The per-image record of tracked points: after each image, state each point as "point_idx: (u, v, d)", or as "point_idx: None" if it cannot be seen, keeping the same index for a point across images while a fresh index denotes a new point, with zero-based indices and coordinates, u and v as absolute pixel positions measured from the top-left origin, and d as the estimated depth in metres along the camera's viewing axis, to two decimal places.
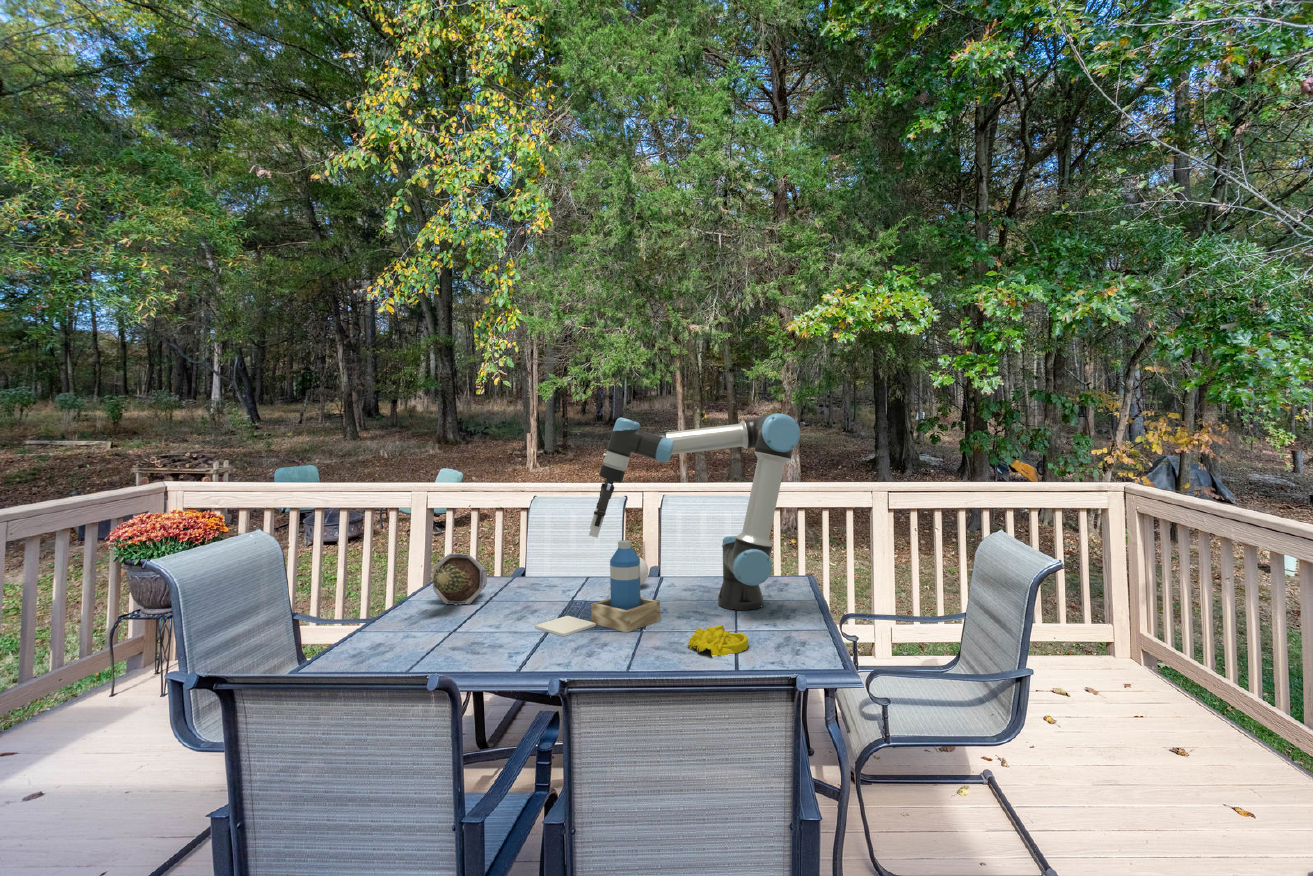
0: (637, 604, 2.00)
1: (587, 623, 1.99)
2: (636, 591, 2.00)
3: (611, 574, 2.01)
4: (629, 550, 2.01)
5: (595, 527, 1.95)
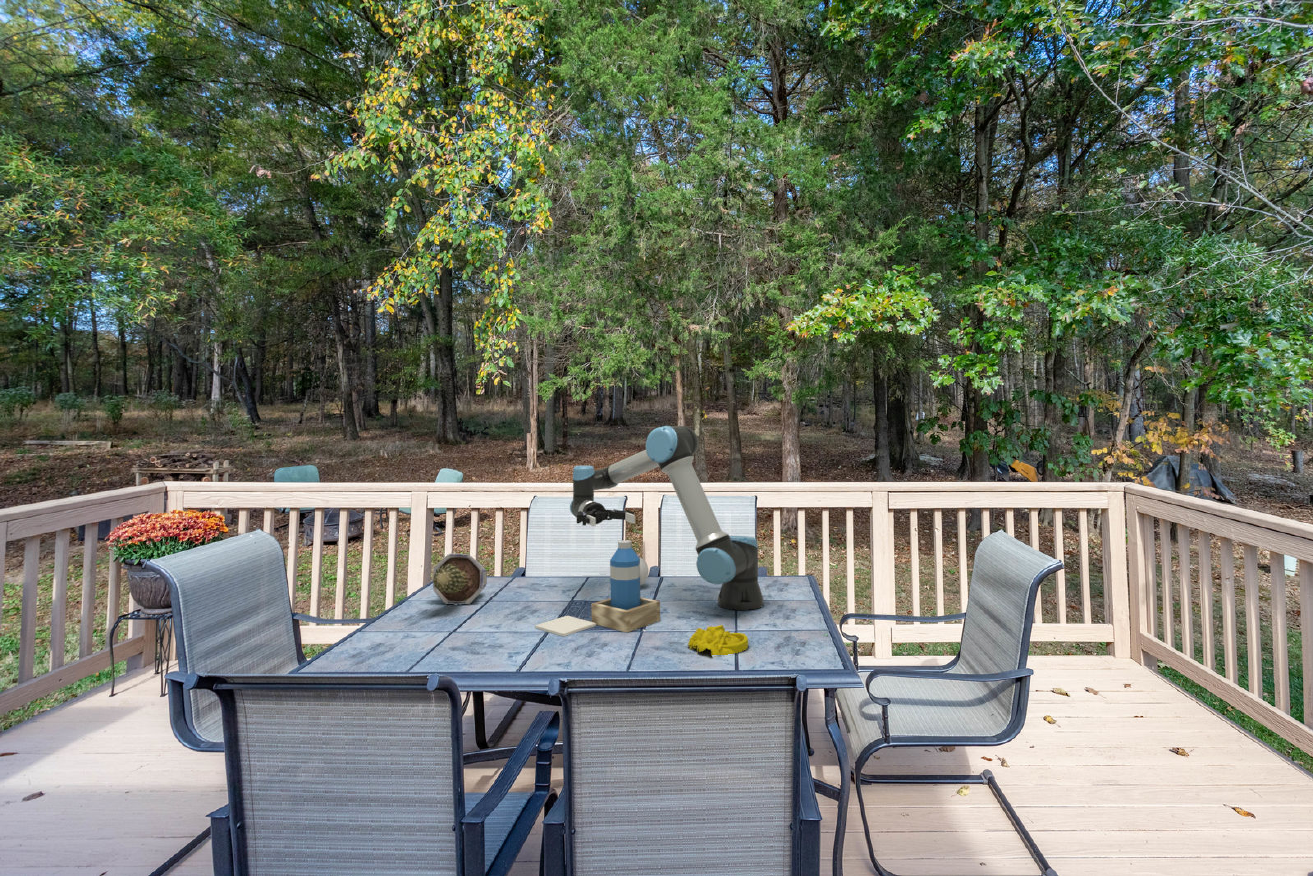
0: (637, 604, 2.00)
1: (587, 623, 1.99)
2: (636, 591, 2.00)
3: (611, 574, 2.01)
4: (629, 550, 2.01)
5: (590, 521, 2.10)
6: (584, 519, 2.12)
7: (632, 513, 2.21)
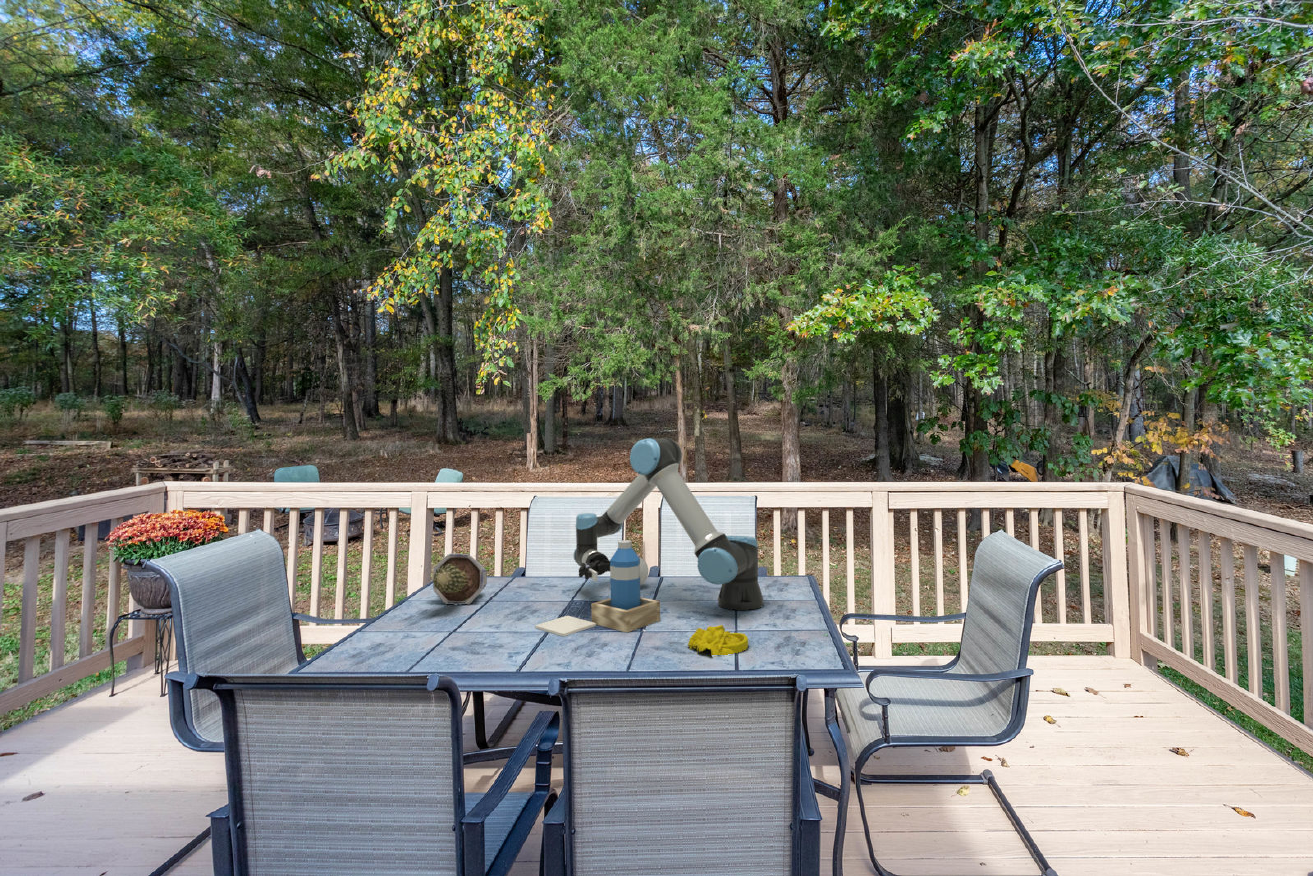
0: (637, 604, 2.00)
1: (587, 623, 1.99)
2: (636, 591, 2.00)
3: (611, 574, 2.01)
4: (629, 550, 2.01)
5: (592, 575, 2.08)
6: (586, 573, 2.09)
7: None
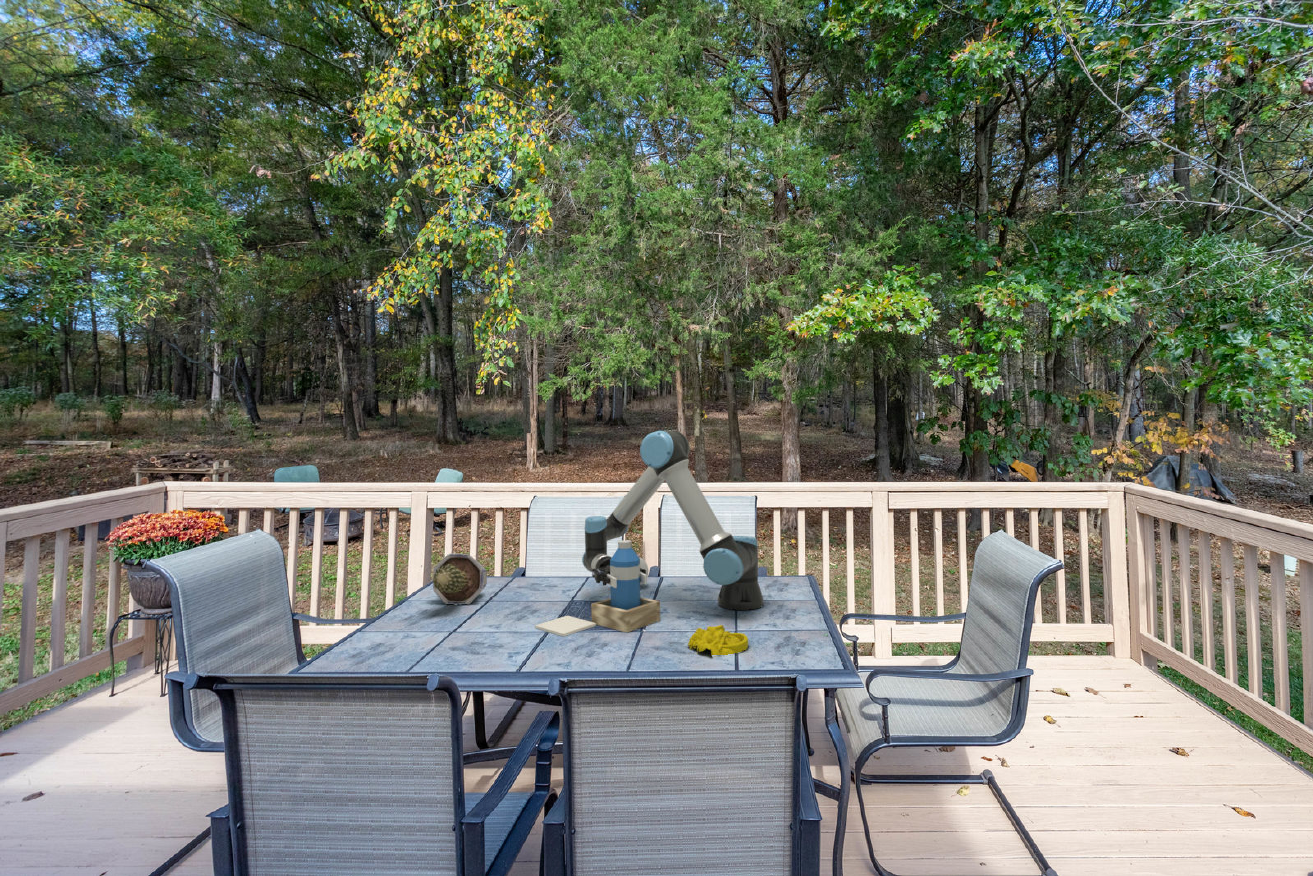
0: (637, 604, 2.00)
1: (587, 623, 1.99)
2: (636, 591, 2.00)
3: (611, 574, 2.01)
4: (629, 550, 2.01)
5: (611, 582, 1.99)
6: (604, 579, 2.00)
7: (644, 571, 2.08)
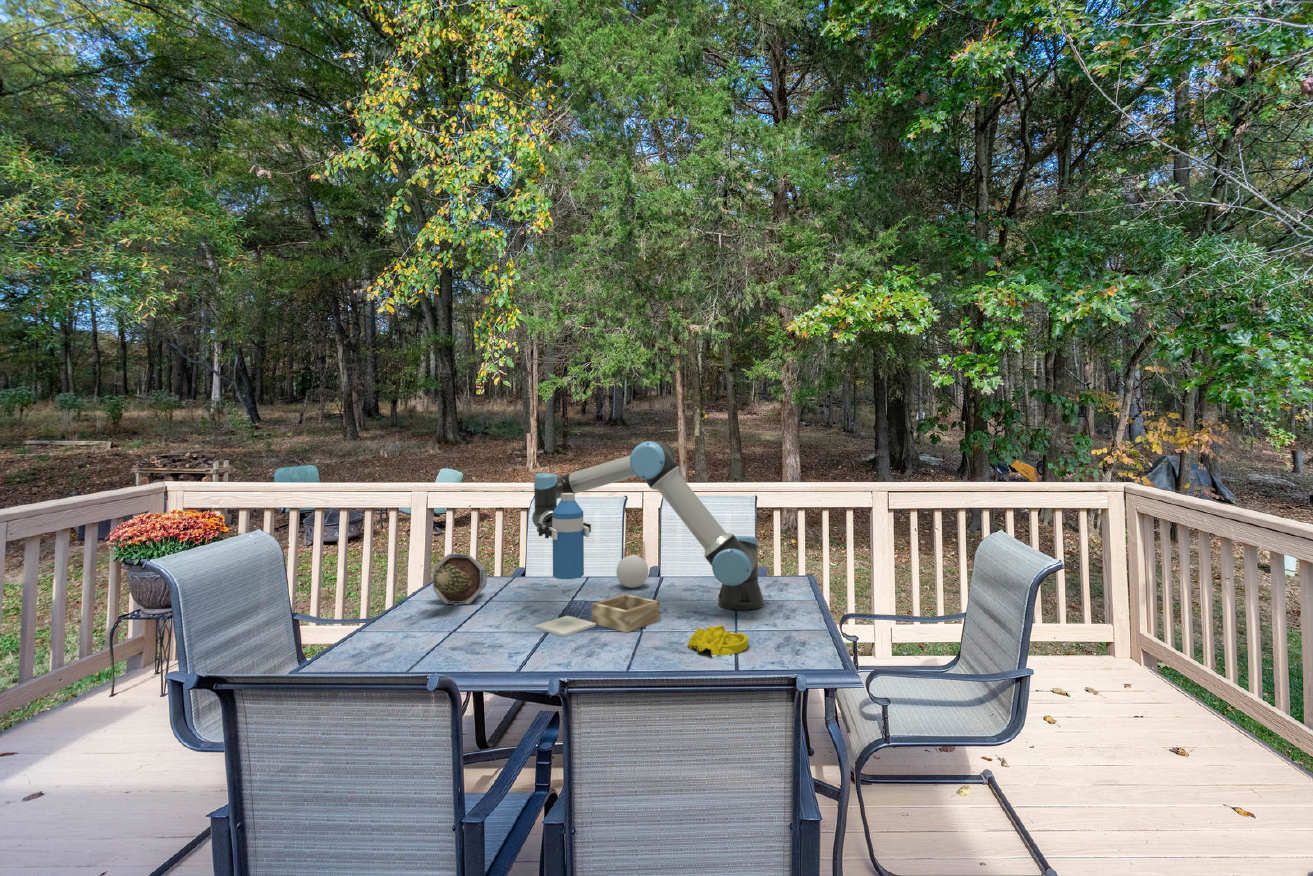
0: (579, 557, 1.96)
1: (587, 623, 1.99)
2: (578, 544, 1.96)
3: (553, 526, 1.97)
4: (572, 502, 1.97)
5: (552, 534, 1.95)
6: (546, 532, 1.97)
7: (588, 525, 2.04)
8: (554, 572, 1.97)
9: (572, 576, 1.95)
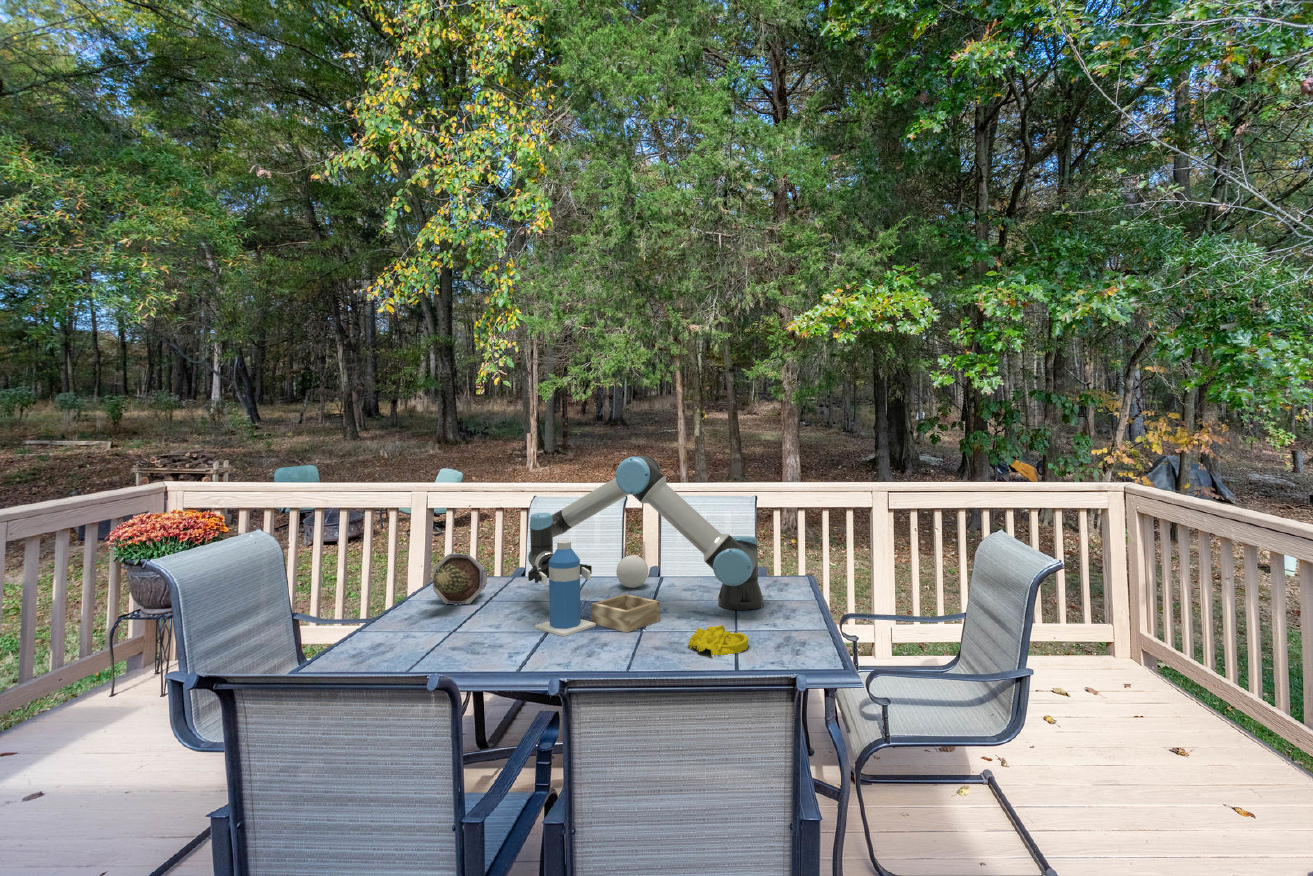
0: (576, 606, 1.96)
1: (587, 623, 1.99)
2: (575, 593, 1.96)
3: (550, 575, 1.97)
4: (568, 550, 1.96)
5: (542, 579, 1.95)
6: (536, 576, 1.97)
7: (589, 567, 2.06)
8: (551, 621, 1.97)
9: (569, 625, 1.94)
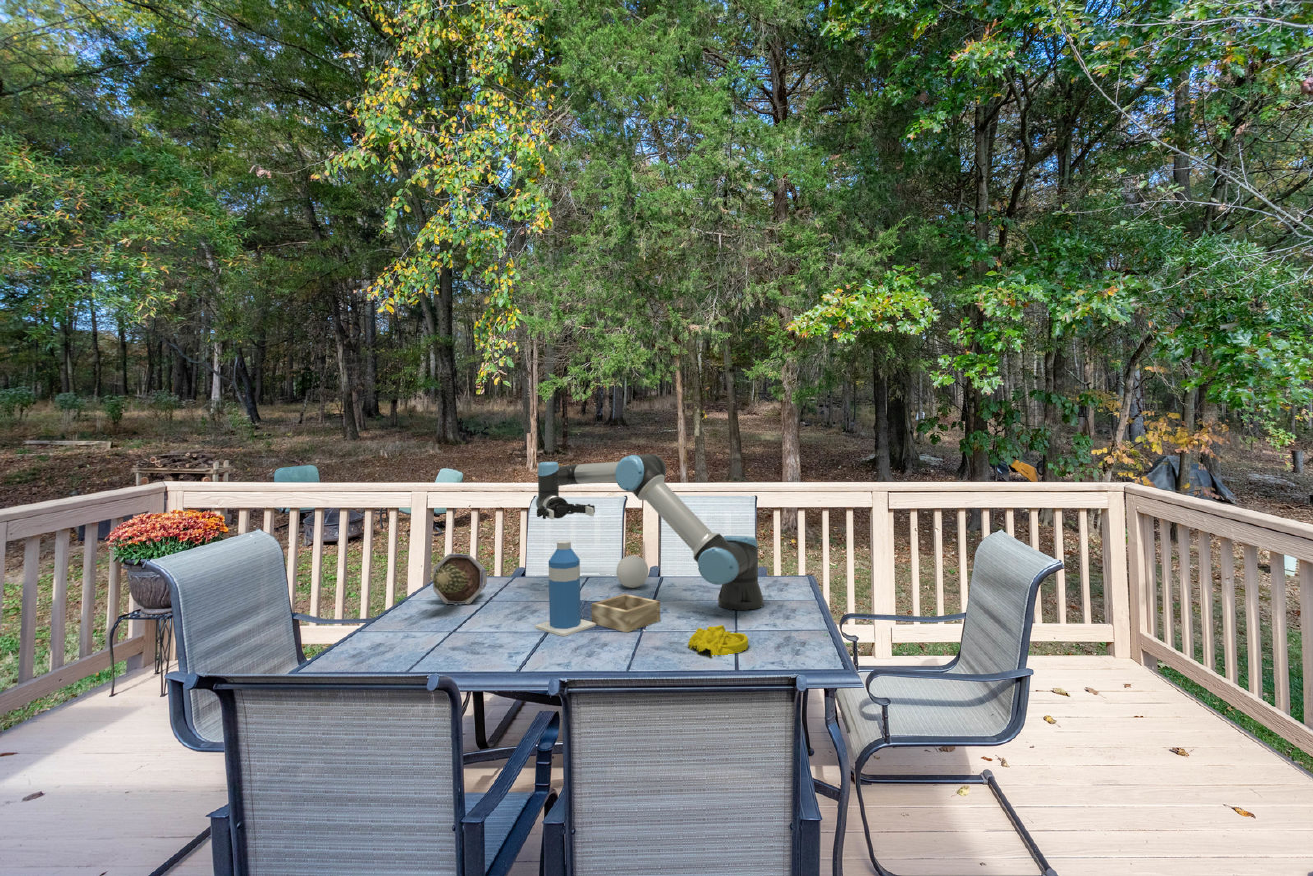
0: (576, 606, 1.96)
1: (587, 623, 1.99)
2: (575, 593, 1.96)
3: (549, 575, 1.97)
4: (568, 550, 1.97)
5: (549, 514, 2.15)
6: (544, 513, 2.17)
7: (592, 507, 2.26)
8: (551, 621, 1.97)
9: (569, 625, 1.94)
